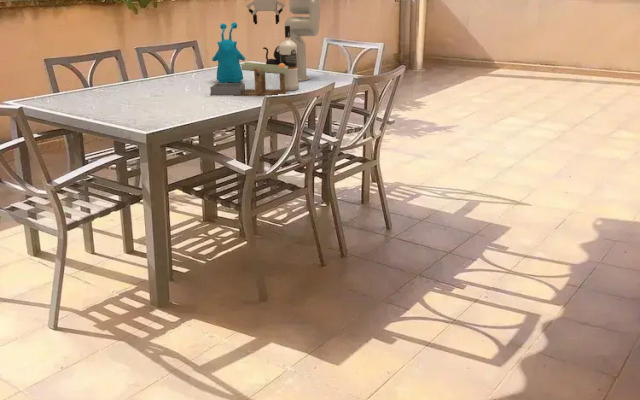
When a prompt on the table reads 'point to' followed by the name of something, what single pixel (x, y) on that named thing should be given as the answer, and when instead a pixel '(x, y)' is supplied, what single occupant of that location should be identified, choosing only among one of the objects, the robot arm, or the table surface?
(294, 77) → the vodka
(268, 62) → the toy
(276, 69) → the lever
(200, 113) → the table surface
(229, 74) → the toy
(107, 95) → the table surface
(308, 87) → the table surface
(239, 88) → the dish
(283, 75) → the stand
